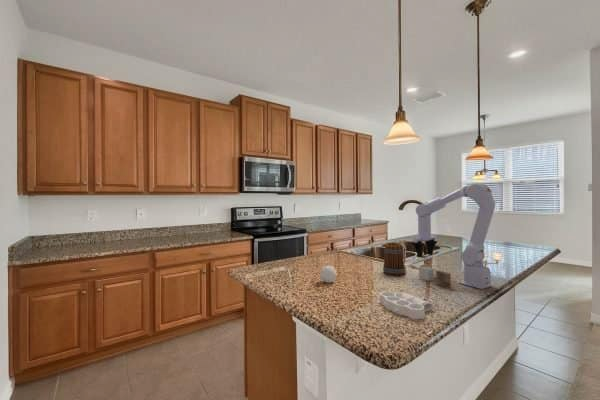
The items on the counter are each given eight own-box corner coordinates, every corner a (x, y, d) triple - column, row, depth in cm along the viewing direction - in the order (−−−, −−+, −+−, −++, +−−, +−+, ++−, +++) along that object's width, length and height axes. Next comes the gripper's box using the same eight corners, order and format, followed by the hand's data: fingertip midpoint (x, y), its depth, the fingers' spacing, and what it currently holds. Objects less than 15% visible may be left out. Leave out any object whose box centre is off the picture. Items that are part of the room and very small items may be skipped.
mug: (401, 277, 131) (401, 246, 131) (380, 274, 137) (379, 244, 137) (410, 270, 143) (409, 241, 143) (390, 267, 150) (389, 240, 150)
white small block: (434, 279, 126) (434, 268, 126) (428, 280, 125) (428, 270, 125) (424, 276, 131) (424, 266, 131) (419, 278, 129) (419, 267, 129)
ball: (329, 289, 124) (326, 278, 119) (318, 279, 129) (315, 269, 125) (341, 279, 127) (338, 268, 122) (329, 270, 132) (327, 259, 128)
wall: (451, 287, 114) (451, 273, 114) (448, 288, 113) (448, 274, 113) (438, 284, 119) (438, 270, 119) (435, 284, 118) (435, 271, 118)
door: (442, 283, 119) (442, 274, 119) (437, 282, 120) (437, 273, 120) (440, 275, 130) (439, 267, 130) (435, 275, 131) (435, 267, 131)
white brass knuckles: (441, 314, 90) (408, 323, 84) (400, 296, 106) (370, 303, 100) (440, 304, 90) (408, 312, 84) (399, 288, 106) (370, 294, 100)
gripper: (427, 226, 141) (427, 252, 142) (407, 228, 135) (408, 255, 135) (439, 227, 135) (439, 254, 135) (419, 230, 128) (420, 258, 129)
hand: (425, 255), depth 135 cm, fingers open, 7 cm apart
